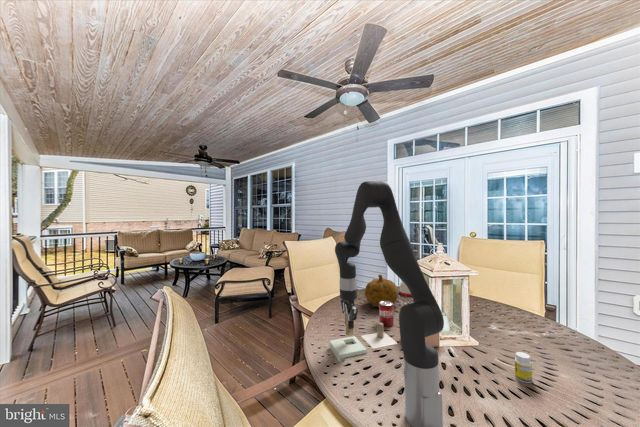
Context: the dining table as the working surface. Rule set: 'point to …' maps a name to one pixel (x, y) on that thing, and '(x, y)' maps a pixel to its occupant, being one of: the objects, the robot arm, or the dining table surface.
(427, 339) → the peach stamp with handle
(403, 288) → the kitchen timer
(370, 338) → the board
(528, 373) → the supplement bottle
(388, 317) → the soda can
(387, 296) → the decorative pumpkin
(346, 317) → the peg
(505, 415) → the dining table surface
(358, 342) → the peg board
